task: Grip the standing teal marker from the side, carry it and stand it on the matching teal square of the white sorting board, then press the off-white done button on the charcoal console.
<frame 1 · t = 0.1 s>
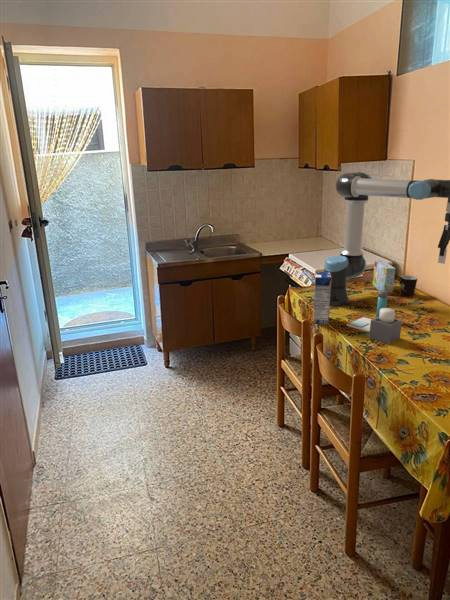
hand: (447, 260, 201), 28 cm above the table, tool pointing down, fingers open, 13 cm apart
marker: (380, 318, 210), on the table
white sorting board: (368, 325, 202), on the table
button console: (384, 338, 188), on the table
beverage box: (320, 320, 209), on the table
snack box: (381, 289, 256), on the table
done button: (386, 316, 185), point 10 cm above the table, slide at 0.0 cm
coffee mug: (406, 294, 247), on the table
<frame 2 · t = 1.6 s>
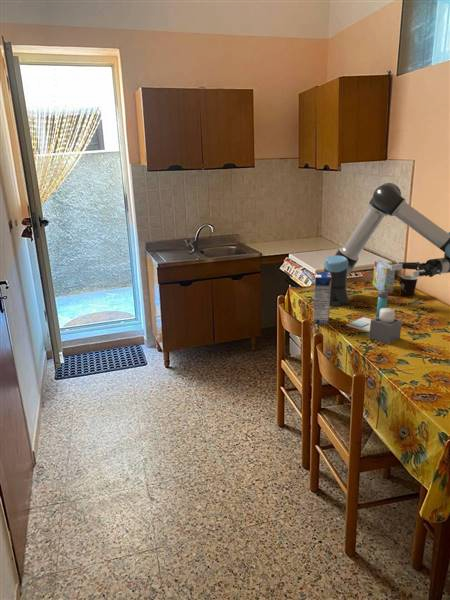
hand: (401, 271, 207), 22 cm above the table, tool horizontal, fingers open, 13 cm apart
nothing on the table moved.
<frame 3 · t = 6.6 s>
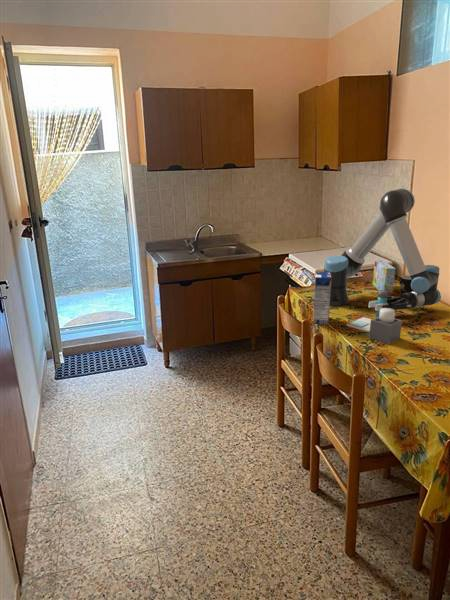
hand: (372, 306, 206), 7 cm above the table, tool horizontal, fingers closed on marker, 4 cm apart
marker: (380, 318, 210), on the table, touching gripper
everything else where it was.
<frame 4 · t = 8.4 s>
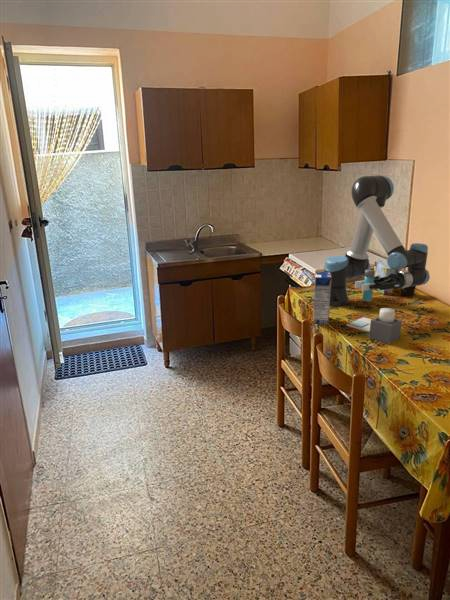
hand: (358, 286, 195), 19 cm above the table, tool horizontal, fingers closed on marker, 4 cm apart
marker: (367, 299, 200), point 12 cm above the table, touching gripper
everything else where it was.
when the fingers open (9 cm above the table, at t = 10.4 s): marker stays where it is, resting on white sorting board.
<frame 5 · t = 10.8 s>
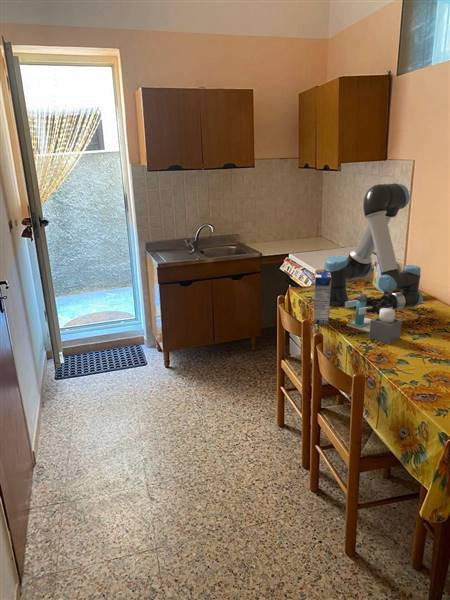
hand: (352, 308, 198), 9 cm above the table, tool horizontal, fingers open, 9 cm apart
marker: (359, 323, 202), point 1 cm above the table, touching white sorting board
everything else where it was.
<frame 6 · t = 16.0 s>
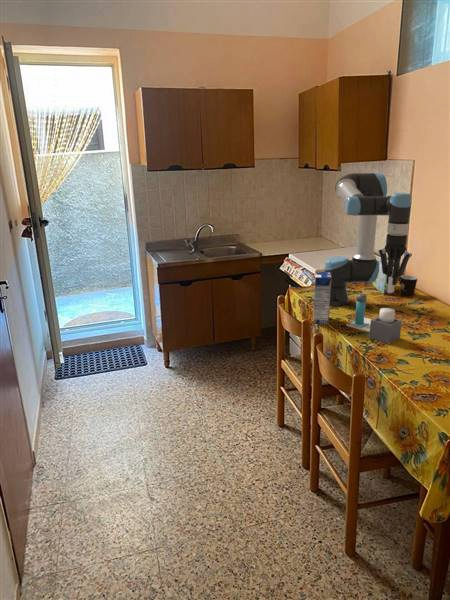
hand: (390, 291, 182), 20 cm above the table, tool pointing down, fingers closed
nothing on the table moved.
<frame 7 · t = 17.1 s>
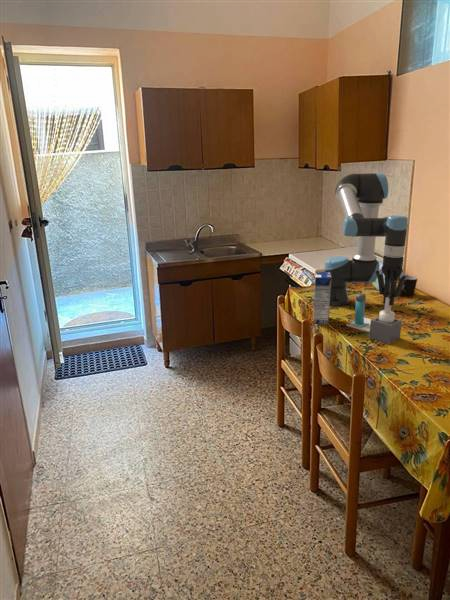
hand: (387, 312, 184), 12 cm above the table, tool pointing down, fingers closed
done button: (386, 318, 185), point 9 cm above the table, slide at 1.0 cm, touching gripper
everything else where it was.
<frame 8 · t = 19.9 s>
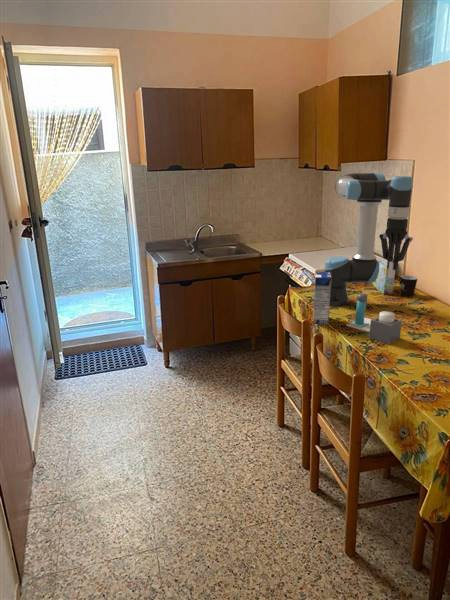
hand: (391, 277, 180), 26 cm above the table, tool pointing down, fingers closed
done button: (386, 319, 186), point 8 cm above the table, slide at 1.5 cm
everything else where it was.
at the end: marker 0.0 cm from the target spot, point 0.9 cm above the table; marker tilted 2°; done button slide at 1.5 cm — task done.
